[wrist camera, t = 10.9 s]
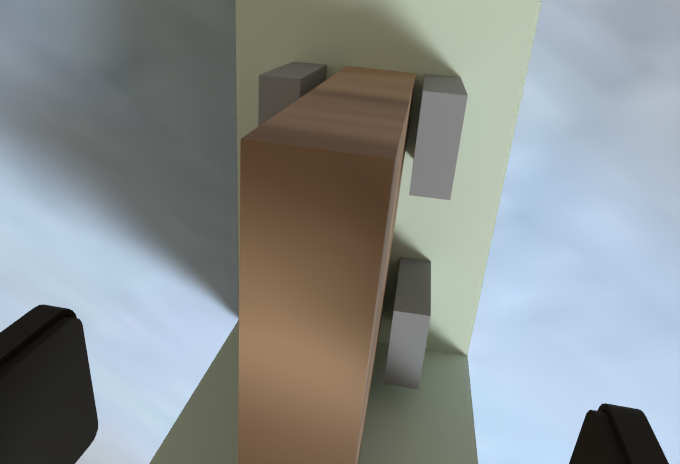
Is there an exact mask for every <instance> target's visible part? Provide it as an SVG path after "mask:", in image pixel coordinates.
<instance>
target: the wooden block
mask: <svg viewBox="0 0 680 464" xmlns="http://www.w3.org/2000/svg"><path fill="white" fill-rule="evenodd" d="M415 79H416V73H408V72H399V71H390V70H380V69H371V68H362V67H353V66H346V67H345V68H343V69H342V70H340V71H339V72H337V73H336V74H334V75H333V76H332V77H330V78H329V79H327V80H326V81H324V82H323V83H321V84H320V85H318V86H317V87H315V88H314V89H313V90H311V91H310V92H308V93H307V94H305V95H304V96H302V97H301V98H299V99H298V100H296V101H295V102H294V103H292V104H291V105H289V106H288V107H286V108H285V109H283V110H282V111H280V112H279V113H277V114H276V115H275V116H273V117H272V118H270V119H269V120H267V121H266V122H264V123H263V124H261V125H260V126H259V127H257V128H256V129H254V130H253V131H251V132H250V133H248V134H247V135H245V136H244V137H242V138H241V141H240V270H239V400H238V464H358V460H359V454H360V448H361V442H362V436H363V430H364V423H365V417H366V411H367V405H368V399H369V393H370V387H371V381H372V375H373V369H374V363H375V356H376V350H377V344H378V338H379V332H380V326H381V320H382V313H383V306H384V299H385V292H386V285H387V278H388V270H389V263H390V256H391V249H392V242H393V235H394V228H395V221H396V214H397V207H398V200H399V193H400V186H401V178H402V171H403V164H404V157H405V150H406V143H407V136H408V129H409V122H410V115H411V108H412V101H413V94H414V86H415Z"/></svg>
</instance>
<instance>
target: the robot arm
mask: <svg viewBox="0 0 680 464" xmlns="http://www.w3.org/2000/svg"><path fill="white" fill-rule="evenodd" d="M97 430H98V418H97V412H96V406H95V400H94V393H93V387H92V381H91V375H90V368H89V362H88V356H87V350H86V343H85V337H84V331H83V325H82V322H81V321H80V319H77V318H76V314H75V313H74V312H73V311H72V310H70V309H66V308H60V307H55V306H49V305H39V306H37V307H35V308H33V309H32V310H30V311H29V312H28V313H26V314H25V315H24V316H22V317H21V318H20V319H18V320H17V321H15V322H14V323H13V324H11V325H10V326H9V327H7V328H6V329H5V330H3V331H2V332H0V464H75V463H76V462H77V460H78V459H79V458H80V457H81V456H82V454H83V453H84V452H85V451H86V449H87V448H88V447H89V446H90V444H91V443H92V442H93V440H94V438H95V436H96V433H97ZM569 464H669V463H668V461H667V459H666V457H665V455H664V453H663V451H662V449H661V447H660V445H659V442H658V440H657V438H656V436H655V434H654V432H653V430H652V428H651V426H650V424H649V422H648V420H647V418H646V416H645V414H644V413H643V412H642V411H641V410H639V409H634V408H628V407H622V406H617V405H611V404H602V405H601V406H600V407H599V409H598V411H594V410H589V411H588V412H587V414H586V416H585V419H584V422H583V425H582V428H581V431H580V434H579V436H578V439H577V442H576V445H575V448H574V451H573V454H572V457H571V460H570V462H569Z"/></svg>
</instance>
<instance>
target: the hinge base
mask: <svg viewBox="0 0 680 464" xmlns="http://www.w3.org/2000/svg"><path fill="white" fill-rule="evenodd" d="M541 2H542V1H533V0H235V18H236V115H237V211H238V308H239V270H240V141H241V138H242V137H244V136H245V135H247V134H248V133H250V132H251V131H253V130H254V129H256V128H257V127H259V126H260V125H261V124H263V123H264V122H266V121H267V120H269V119H270V118H272V117H273V116H275V115H276V114H277V113H279V112H280V111H282V110H283V109H285V108H286V107H288V106H289V105H291V104H292V103H294V102H295V101H296V100H298V99H299V98H301V97H302V96H304V95H305V94H307V93H308V92H310V91H311V90H313V89H314V88H315V87H317V86H318V85H320V84H321V83H323V82H324V81H326V80H327V79H329V78H330V77H332V76H333V75H334V74H336V73H337V72H339V71H340V70H342V69H343V68H345V67H346V66H353V67H362V68H371V69H380V70H390V71H399V72H408V73H416V79H415V86H414V94H413V101H412V108H411V115H410V122H409V129H408V136H407V143H406V150H405V157H404V164H403V171H402V178H401V186H400V193H399V200H398V207H397V214H396V221H395V228H394V235H393V242H392V249H391V256H390V263H389V270H388V278H387V285H386V292H385V299H384V306H383V313H382V320H381V326H380V332H379V338H378V344H377V350H376V356H375V363H374V369H373V375H372V381H371V387H370V393H369V399H368V405H367V411H366V417H365V423H364V430H363V436H362V442H361V448H360V454H359V460H358V464H478V459H477V449H476V439H475V428H474V418H473V408H472V398H471V388H470V378H469V368H468V358H467V355H468V350H469V345H470V341H471V336H472V331H473V326H474V322H475V317H476V312H477V307H478V303H479V298H480V293H481V288H482V283H483V279H484V274H485V269H486V264H487V260H488V255H489V250H490V245H491V241H492V236H493V231H494V226H495V221H496V217H497V212H498V207H499V202H500V198H501V193H502V188H503V183H504V179H505V174H506V169H507V164H508V159H509V155H510V150H511V145H512V140H513V136H514V131H515V126H516V121H517V117H518V112H519V107H520V102H521V97H522V93H523V88H524V83H525V78H526V74H527V69H528V64H529V59H530V55H531V50H532V45H533V40H534V35H535V31H536V26H537V21H538V16H539V12H540V7H541ZM238 400H239V320H238V322H237V323H236V325H235V327H234V328H233V330H232V331H231V333H230V335H229V336H228V338H227V340H226V341H225V343H224V344H223V346H222V348H221V349H220V351H219V352H218V354H217V356H216V357H215V359H214V360H213V362H212V364H211V365H210V367H209V369H208V370H207V372H206V373H205V375H204V377H203V378H202V380H201V381H200V383H199V385H198V386H197V388H196V389H195V391H194V393H193V394H192V396H191V398H190V399H189V401H188V402H187V404H186V406H185V407H184V409H183V410H182V412H181V414H180V415H179V417H178V418H177V420H176V422H175V423H174V425H173V427H172V428H171V430H170V431H169V433H168V435H167V436H166V438H165V439H164V441H163V443H162V444H161V446H160V447H159V449H158V451H157V452H156V454H155V456H154V457H153V459H152V460H151V462H150V464H238Z"/></svg>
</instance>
